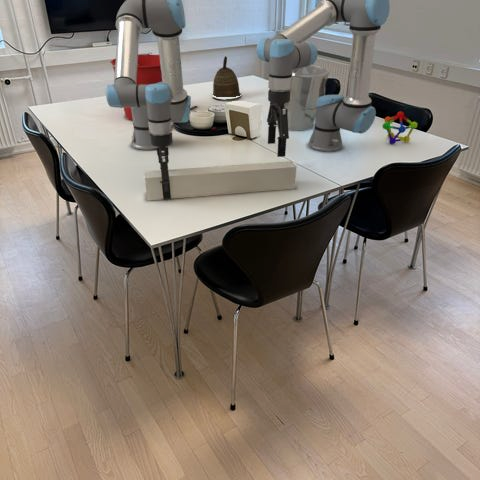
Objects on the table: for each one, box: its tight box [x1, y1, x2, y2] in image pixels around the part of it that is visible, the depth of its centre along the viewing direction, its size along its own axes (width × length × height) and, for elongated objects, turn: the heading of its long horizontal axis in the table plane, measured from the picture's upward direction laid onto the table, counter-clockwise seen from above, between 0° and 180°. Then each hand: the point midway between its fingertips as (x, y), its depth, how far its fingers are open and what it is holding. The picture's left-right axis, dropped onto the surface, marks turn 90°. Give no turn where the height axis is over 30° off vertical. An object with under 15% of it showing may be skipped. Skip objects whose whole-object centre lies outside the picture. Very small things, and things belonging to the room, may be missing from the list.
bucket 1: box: [107, 51, 162, 122], centre depth 239 cm, size 35×35×30 cm
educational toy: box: [382, 110, 418, 145], centre depth 207 cm, size 16×13×15 cm
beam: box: [144, 160, 297, 202], centre depth 163 cm, size 55×6×9 cm, turn 101°
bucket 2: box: [284, 64, 330, 131], centre depth 226 cm, size 30×30×28 cm
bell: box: [212, 56, 242, 97], centre depth 278 cm, size 19×26×20 cm
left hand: (166, 194), depth 162 cm, fingers closed on beam, 6 cm apart
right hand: (276, 149), depth 161 cm, fingers open, 13 cm apart
